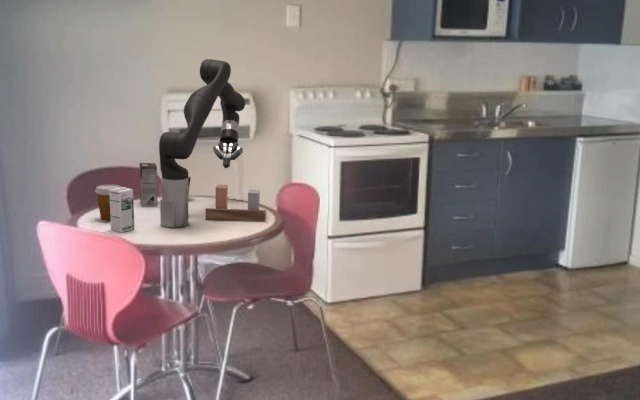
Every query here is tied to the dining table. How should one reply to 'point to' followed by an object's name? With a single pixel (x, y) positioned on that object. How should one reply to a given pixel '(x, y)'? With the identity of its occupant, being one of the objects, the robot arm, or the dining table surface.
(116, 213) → the syrup box
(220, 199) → the terracotta plug
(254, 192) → the slate plug
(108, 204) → the disposable coffee cup
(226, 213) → the brown wooden flat block
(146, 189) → the coffee box
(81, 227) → the dining table surface
